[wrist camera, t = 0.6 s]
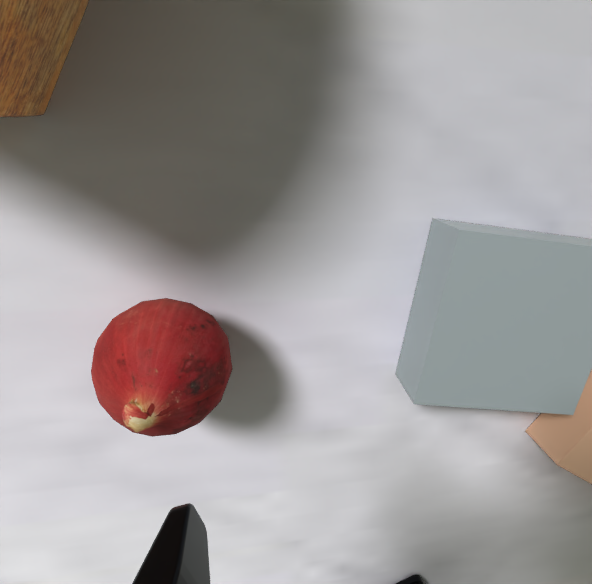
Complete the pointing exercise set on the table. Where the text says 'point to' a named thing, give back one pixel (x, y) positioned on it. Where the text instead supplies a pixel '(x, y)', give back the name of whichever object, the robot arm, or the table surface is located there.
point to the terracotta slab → (568, 436)
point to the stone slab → (499, 320)
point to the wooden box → (34, 51)
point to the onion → (161, 367)
